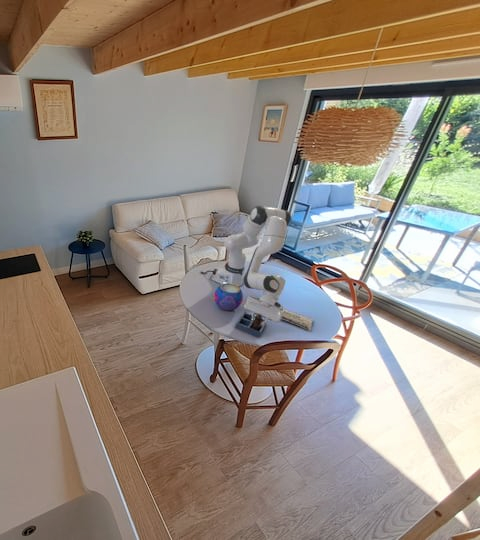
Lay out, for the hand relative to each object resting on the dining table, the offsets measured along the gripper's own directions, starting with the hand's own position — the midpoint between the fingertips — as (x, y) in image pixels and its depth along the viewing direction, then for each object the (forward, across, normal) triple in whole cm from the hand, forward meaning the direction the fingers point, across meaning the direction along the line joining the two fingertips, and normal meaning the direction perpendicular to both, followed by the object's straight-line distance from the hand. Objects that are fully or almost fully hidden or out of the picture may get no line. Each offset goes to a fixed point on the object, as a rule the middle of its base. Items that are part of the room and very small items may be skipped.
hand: (256, 322), depth 162 cm
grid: (+2, -4, +7) cm, 9 cm away
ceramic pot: (-3, -23, +13) cm, 27 cm away
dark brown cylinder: (+3, 0, +4) cm, 4 cm away
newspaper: (-15, +11, +25) cm, 31 cm away
